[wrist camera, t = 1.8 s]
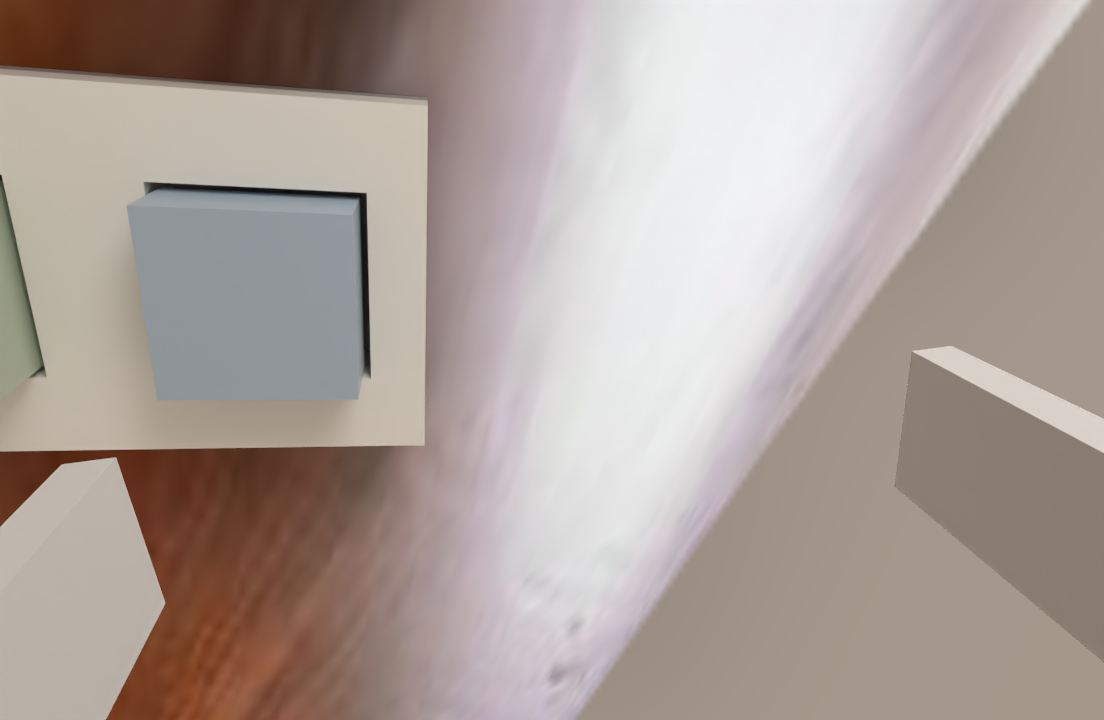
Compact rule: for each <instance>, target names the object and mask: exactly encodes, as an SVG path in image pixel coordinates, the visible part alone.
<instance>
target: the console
mask: <svg viewBox="0 0 1104 720" xmlns="http://www.w3.org/2000/svg"><path fill="white" fill-rule="evenodd" d="M427 143H428V101H427V97H416V96H403V95H389V94H376V93H363V92H349V91H336V90H323V89H310V88H296V87H283V86H270V85H256V84H243V83H230V82H217V81H203V80H190V79H177V78H163V77H150V76H137V75H124V74H110V73H97V72H84V71H70V70H57V69H44V68H31V67H17V66H4V65H0V180H3V183H4V188H5V192H6V197H7V201H8V206H9V210H10V215H11V219H12V224H13V228H14V233H15V237H16V241H17V246H18V250H19V255H20V259H21V264H22V268H23V273H24V277H25V282H26V286H27V291H28V295H29V300H30V304H31V308H32V313H33V317H34V322H35V326H36V331H37V335H38V340H39V344H40V349H41V353H42V358H43V362H44V365H43V366H42V367H41V368H39V369H38V370H37V371H36V372H35V373H33V374H32V375H31V376H30V377H29V378H27V379H26V380H25V381H24V382H22V383H21V384H20V385H19V386H18V387H16V388H15V389H14V390H13V391H12V392H10V393H9V394H8V395H7V396H6V397H4V398H3V399H2V400H1V401H0V451H64V450H132V449H200V448H268V447H336V446H404V445H424V442H425V342H426V243H427ZM160 187H162V188H182V189H203V190H223V191H244V192H265V193H285V194H306V195H326V196H347V197H360V213H361V250H362V286H363V323H364V360H365V366H364V371H363V377H362V382H361V387H360V393H359V398H358V400H157V395H156V389H155V383H154V376H153V370H152V364H151V357H150V351H149V345H148V338H147V332H146V326H145V319H144V313H143V307H142V300H141V294H140V288H139V281H138V275H137V269H136V262H135V256H134V250H133V243H132V237H131V231H130V224H129V218H128V212H127V205H128V204H130V203H132V202H133V201H135V200H137V199H139V198H141V197H143V196H145V195H147V194H149V193H151V192H153V191H154V190H156V189H158V188H160Z"/></svg>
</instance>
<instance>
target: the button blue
mask: <svg viewBox="0 0 1104 720" xmlns="http://www.w3.org/2000/svg"><path fill="white" fill-rule="evenodd" d="M127 212H128V218H129V224H130V231H131V237H132V243H133V250H134V256H135V262H136V269H137V275H138V281H139V288H140V294H141V300H142V307H143V313H144V319H145V326H146V332H147V338H148V345H149V351H150V357H151V364H152V370H153V376H154V383H155V389H156V395H157V400H358V398H359V393H360V387H361V382H362V377H363V371H364V366H365V360H364V323H363V286H362V250H361V213H360V197H347V196H326V195H306V194H285V193H265V192H244V191H223V190H203V189H182V188H162V187H160V188H158V189H156V190H154V191H153V192H151V193H149V194H147V195H145V196H143V197H141V198H139V199H137V200H135V201H133V202H132V203H130V204H128V205H127Z"/></svg>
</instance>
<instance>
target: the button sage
mask: <svg viewBox="0 0 1104 720" xmlns="http://www.w3.org/2000/svg"><path fill="white" fill-rule="evenodd" d="M43 365H44V362H43V358H42V353H41V349H40V344H39V340H38V335H37V331H36V326H35V322H34V317H33V313H32V308H31V304H30V300H29V295H28V291H27V286H26V282H25V277H24V273H23V268H22V264H21V259H20V255H19V250H18V246H17V241H16V237H15V233H14V228H13V224H12V219H11V215H10V210H9V206H8V201H7V197H6V192H5V188H4V183H3V180H0V401H1V400H2V399H3V398H4V397H6V396H7V395H8V394H9V393H10V392H12V391H13V390H14V389H15V388H16V387H18V386H19V385H20V384H21V383H22V382H24V381H25V380H26V379H27V378H29V377H30V376H31V375H32V374H33V373H35V372H36V371H37V370H38V369H39V368H41V367H42V366H43Z"/></svg>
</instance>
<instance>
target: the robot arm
mask: <svg viewBox="0 0 1104 720" xmlns="http://www.w3.org/2000/svg"><path fill="white" fill-rule="evenodd" d="M895 487H896V488H897V489H898V490H899V491H901V492H902V493H903V494H904V495H905V496H906V497H908V498H909V499H910V500H911V501H912V502H913V503H915V504H916V505H917V506H918V507H919V508H921V509H922V510H923V511H924V512H925V513H927V514H928V515H929V516H930V517H931V518H933V519H934V520H935V521H936V522H937V523H939V524H940V525H941V526H942V527H943V528H944V529H946V530H947V531H948V532H949V533H951V534H952V535H953V536H954V537H955V538H956V539H958V540H959V541H960V542H961V543H962V544H964V545H965V546H966V547H967V548H968V549H969V550H971V551H972V552H973V553H974V554H975V555H977V556H978V557H979V558H980V559H982V560H983V561H984V562H985V563H986V564H987V565H989V566H990V567H991V568H992V569H993V570H995V571H996V572H997V573H998V574H999V575H1000V576H1002V577H1003V578H1004V579H1005V580H1006V581H1008V582H1009V583H1010V584H1011V585H1012V586H1014V587H1015V588H1016V589H1017V590H1019V591H1020V592H1021V593H1022V594H1023V595H1024V596H1026V597H1027V598H1028V599H1029V600H1030V601H1032V602H1033V603H1034V604H1035V605H1036V606H1037V607H1039V608H1040V609H1041V610H1042V611H1044V612H1045V613H1046V614H1047V615H1048V616H1049V617H1051V618H1052V619H1053V620H1054V621H1055V622H1056V623H1058V624H1059V625H1060V626H1061V627H1062V628H1064V629H1065V630H1066V631H1067V632H1069V633H1070V634H1071V635H1072V636H1073V637H1074V638H1076V639H1077V640H1078V641H1079V642H1080V643H1082V644H1083V645H1084V646H1085V647H1086V648H1088V649H1089V650H1090V651H1091V652H1092V653H1093V654H1095V655H1096V656H1097V657H1098V658H1099V659H1101V660H1102V661H1103V662H1104V419H1102V418H1100V417H1098V416H1096V415H1094V414H1092V413H1090V412H1088V411H1086V410H1084V409H1081V408H1080V407H1077V406H1076V405H1073V404H1071V403H1069V402H1067V401H1065V400H1063V399H1061V398H1059V397H1057V396H1055V395H1053V394H1050V393H1048V392H1046V391H1044V390H1042V389H1040V388H1038V387H1036V386H1034V385H1032V384H1030V383H1028V382H1026V381H1023V380H1021V379H1019V378H1017V377H1015V376H1013V375H1011V374H1009V373H1007V372H1005V371H1003V370H1000V369H998V368H996V367H994V366H992V365H990V364H988V363H986V362H984V361H982V360H979V359H978V358H975V357H973V356H971V355H969V354H967V353H965V352H963V351H961V350H959V349H957V348H955V347H953V346H948V347H940V348H933V349H925V350H918V351H912V355H911V363H910V370H909V378H908V386H907V393H906V401H905V409H904V418H903V425H902V432H901V441H900V448H899V456H898V464H897V472H896V479H895ZM164 605H165V601H164V598H163V595H162V592H161V589H160V586H159V583H158V580H157V577H156V574H155V571H154V568H153V565H152V562H151V559H150V556H149V553H148V550H147V547H146V544H145V542H144V539H143V536H142V533H141V530H140V527H139V524H138V521H137V518H136V515H135V512H134V509H133V506H132V503H131V500H130V497H129V494H128V491H127V488H126V485H125V482H124V479H123V476H122V473H121V471H120V468H119V465H118V462H117V459H116V457H114V458H107V459H99V460H92V461H84V462H77V463H69V464H62V465H61V466H60V467H59V468H58V469H57V470H56V471H55V472H54V473H53V474H52V475H51V476H50V477H49V478H48V479H47V480H46V481H45V482H44V483H43V484H42V485H41V486H40V487H39V488H38V489H37V490H36V491H35V492H34V493H33V494H32V495H31V496H30V497H29V498H28V499H27V500H26V501H25V502H24V503H23V504H22V505H21V506H20V507H19V508H18V509H17V510H16V511H15V512H14V513H13V514H12V515H11V516H10V517H9V518H8V519H7V520H6V521H5V522H4V524H3V525H2V526H1V527H0V720H106V718H107V716H108V714H109V712H110V710H111V708H112V706H113V705H114V703H115V701H116V699H117V697H118V695H119V693H120V691H121V689H122V687H123V685H124V683H125V681H126V679H127V677H128V675H129V673H130V671H131V669H132V667H133V666H134V664H135V662H136V660H137V658H138V656H139V654H140V652H141V650H142V648H143V646H144V644H145V642H146V640H147V638H148V636H149V634H150V632H151V630H152V628H153V626H154V625H155V623H156V621H157V619H158V617H159V615H160V613H161V611H162V609H163V607H164Z"/></svg>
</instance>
